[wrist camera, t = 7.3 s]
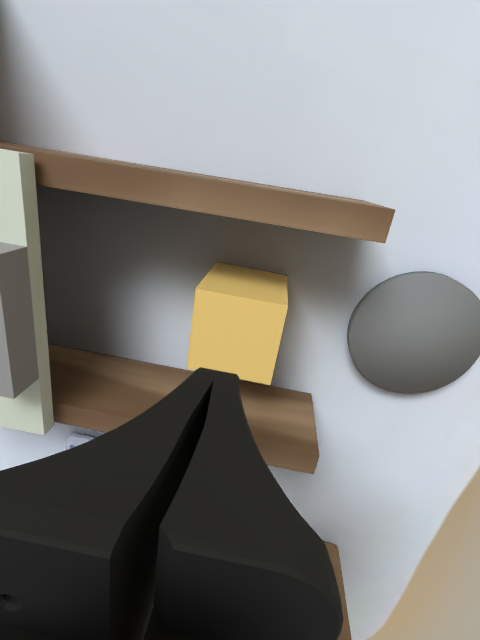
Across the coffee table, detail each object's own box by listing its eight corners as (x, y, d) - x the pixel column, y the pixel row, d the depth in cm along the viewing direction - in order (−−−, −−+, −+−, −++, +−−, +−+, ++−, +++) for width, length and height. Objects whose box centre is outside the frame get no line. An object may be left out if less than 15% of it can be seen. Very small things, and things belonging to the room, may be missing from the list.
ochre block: (273, 339, 21) (270, 385, 16) (207, 326, 21) (186, 368, 16) (286, 275, 19) (288, 305, 15) (215, 262, 20) (195, 288, 15)
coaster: (450, 395, 21) (456, 403, 20) (333, 373, 21) (335, 380, 20) (502, 284, 18) (511, 288, 17) (367, 261, 18) (370, 264, 18)
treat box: (306, 409, 22) (313, 474, 18) (-20, 346, 23) (-99, 391, 19) (363, 200, 17) (395, 210, 13) (-54, 132, 18) (-175, 116, 14)
